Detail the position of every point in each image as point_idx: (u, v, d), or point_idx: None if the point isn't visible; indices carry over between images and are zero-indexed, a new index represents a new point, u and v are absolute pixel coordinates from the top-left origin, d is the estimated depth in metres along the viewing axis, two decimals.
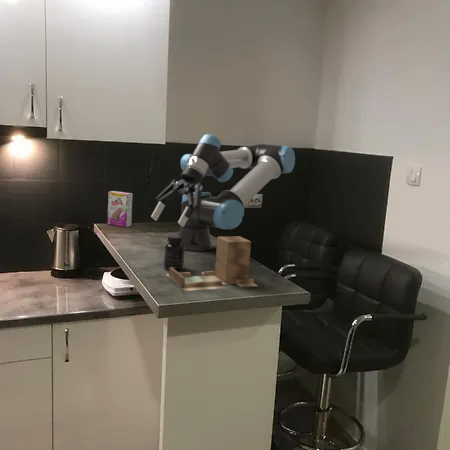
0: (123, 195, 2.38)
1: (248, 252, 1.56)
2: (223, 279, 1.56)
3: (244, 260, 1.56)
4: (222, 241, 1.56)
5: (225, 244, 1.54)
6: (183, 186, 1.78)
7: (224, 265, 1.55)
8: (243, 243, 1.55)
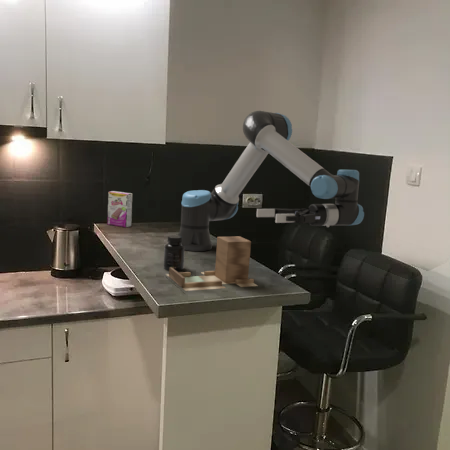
0: (123, 195, 2.38)
1: (248, 252, 1.56)
2: (223, 279, 1.56)
3: (244, 260, 1.56)
4: (222, 241, 1.56)
5: (225, 244, 1.54)
6: None
7: (224, 265, 1.55)
8: (243, 243, 1.55)
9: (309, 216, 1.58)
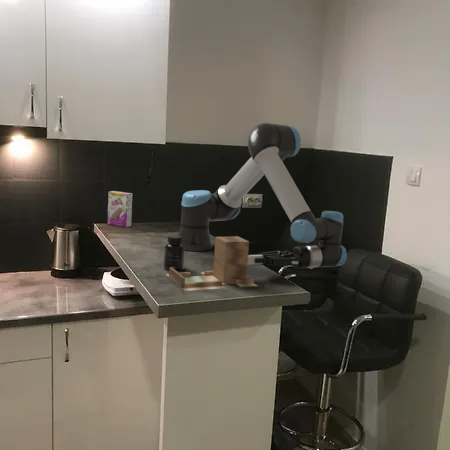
0: (123, 195, 2.38)
1: (246, 252, 1.56)
2: (221, 279, 1.56)
3: (242, 260, 1.56)
4: (220, 241, 1.56)
5: (223, 244, 1.54)
6: None
7: (222, 266, 1.55)
8: (241, 243, 1.55)
9: (280, 259, 1.60)
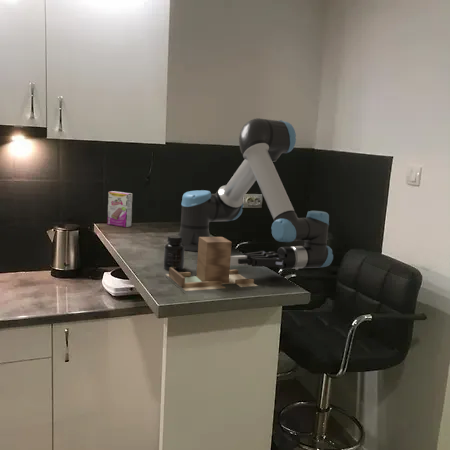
0: (123, 195, 2.38)
1: (229, 253, 1.53)
2: (203, 280, 1.53)
3: (224, 261, 1.53)
4: (202, 241, 1.54)
5: (205, 244, 1.52)
6: None
7: (204, 266, 1.52)
8: (223, 244, 1.52)
9: (264, 260, 1.58)
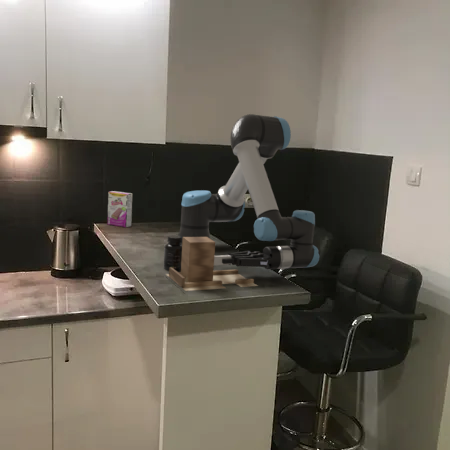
0: (123, 195, 2.38)
1: (212, 253, 1.51)
2: (186, 280, 1.52)
3: (208, 261, 1.51)
4: (186, 241, 1.52)
5: (188, 244, 1.50)
6: None
7: (187, 267, 1.51)
8: (206, 244, 1.50)
9: (248, 260, 1.56)
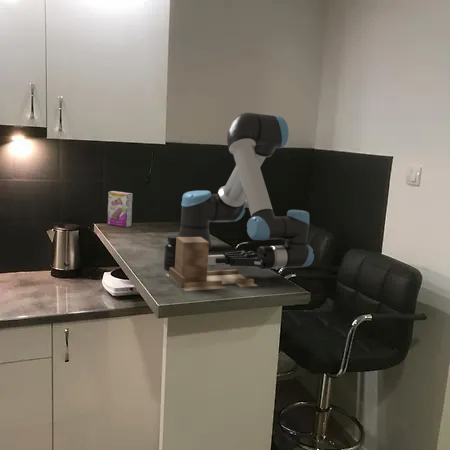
0: (123, 195, 2.38)
1: (206, 253, 1.51)
2: None
3: (202, 261, 1.51)
4: (179, 241, 1.51)
5: (181, 244, 1.49)
6: None
7: (181, 267, 1.50)
8: (200, 244, 1.50)
9: (242, 260, 1.55)
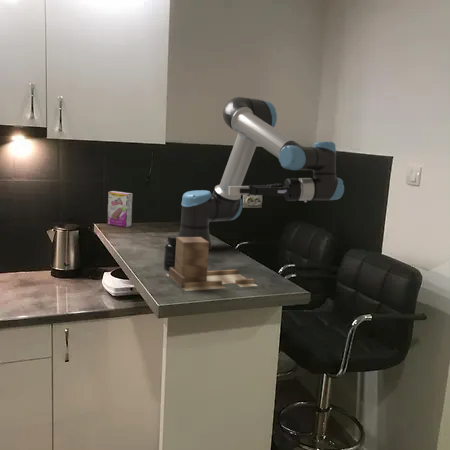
0: (123, 195, 2.38)
1: (206, 253, 1.51)
2: None
3: (202, 261, 1.51)
4: (179, 241, 1.51)
5: (181, 244, 1.49)
6: None
7: (181, 267, 1.50)
8: (200, 244, 1.50)
9: (265, 189, 1.58)
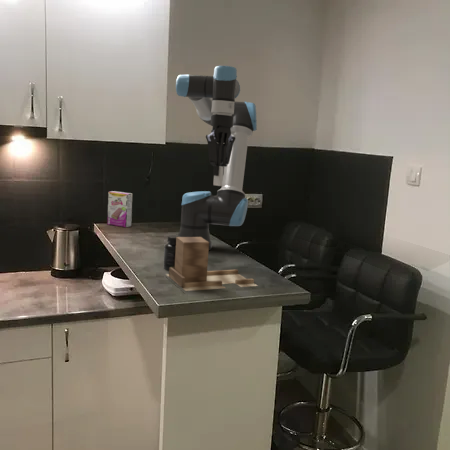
0: (123, 195, 2.38)
1: (206, 253, 1.51)
2: None
3: (202, 261, 1.51)
4: (179, 241, 1.51)
5: (181, 244, 1.49)
6: None
7: (181, 267, 1.50)
8: (200, 244, 1.50)
9: (209, 153, 1.64)
